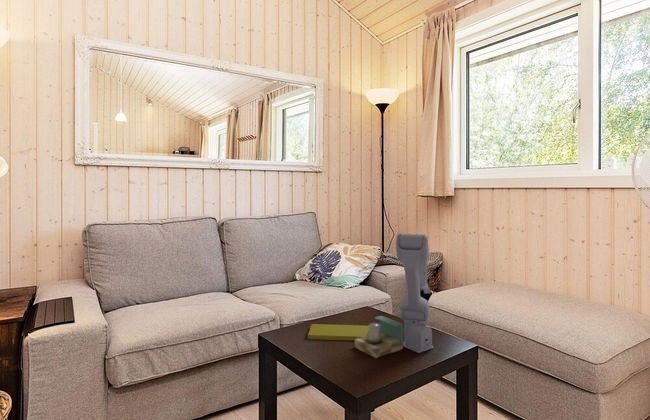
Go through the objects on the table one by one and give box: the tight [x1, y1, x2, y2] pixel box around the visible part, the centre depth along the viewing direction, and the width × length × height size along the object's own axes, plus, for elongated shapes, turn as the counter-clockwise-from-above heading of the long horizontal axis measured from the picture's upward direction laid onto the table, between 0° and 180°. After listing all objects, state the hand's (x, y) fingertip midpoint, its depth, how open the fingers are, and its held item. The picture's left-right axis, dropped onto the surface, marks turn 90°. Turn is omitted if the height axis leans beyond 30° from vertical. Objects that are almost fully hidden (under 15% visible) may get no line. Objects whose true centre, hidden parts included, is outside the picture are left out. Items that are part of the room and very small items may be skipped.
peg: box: [368, 322, 380, 345], centre depth 140 cm, size 4×4×9 cm
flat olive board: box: [307, 323, 369, 342], centre depth 156 cm, size 12×2×24 cm
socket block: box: [354, 332, 404, 359], centre depth 142 cm, size 11×13×3 cm
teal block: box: [374, 315, 404, 342], centre depth 144 cm, size 11×4×6 cm, turn 35°
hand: (419, 306), depth 157 cm, fingers open, 7 cm apart
